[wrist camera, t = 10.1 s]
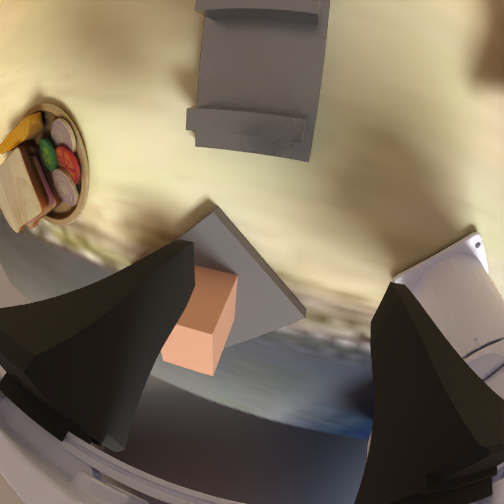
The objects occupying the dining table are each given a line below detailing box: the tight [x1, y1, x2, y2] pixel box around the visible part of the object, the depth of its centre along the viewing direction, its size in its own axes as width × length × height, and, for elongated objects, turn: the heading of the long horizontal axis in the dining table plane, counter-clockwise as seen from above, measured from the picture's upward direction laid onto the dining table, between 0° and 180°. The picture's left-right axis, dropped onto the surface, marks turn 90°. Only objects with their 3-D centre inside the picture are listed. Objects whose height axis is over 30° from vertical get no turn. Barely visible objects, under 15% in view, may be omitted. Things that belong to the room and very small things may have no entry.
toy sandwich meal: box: [0, 103, 89, 233], centre depth 19 cm, size 12×14×5 cm
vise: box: [186, 0, 330, 162], centre depth 12 cm, size 12×7×4 cm, turn 175°
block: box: [161, 265, 238, 376], centre depth 20 cm, size 5×4×6 cm
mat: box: [173, 207, 306, 348], centre depth 23 cm, size 11×11×1 cm
